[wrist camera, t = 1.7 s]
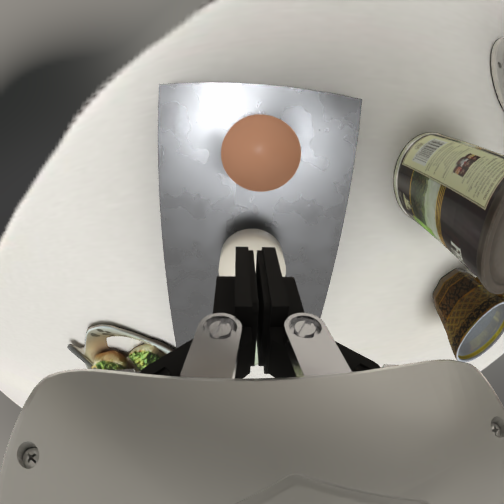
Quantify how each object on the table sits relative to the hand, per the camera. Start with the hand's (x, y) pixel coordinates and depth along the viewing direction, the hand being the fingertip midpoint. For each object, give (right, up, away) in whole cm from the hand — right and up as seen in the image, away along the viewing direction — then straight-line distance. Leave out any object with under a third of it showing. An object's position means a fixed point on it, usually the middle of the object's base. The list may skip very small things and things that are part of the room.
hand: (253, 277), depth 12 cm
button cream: (0, +2, +14) cm, 14 cm away
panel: (0, +3, +16) cm, 16 cm away
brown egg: (0, +10, +10) cm, 14 cm away
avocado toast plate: (-18, -16, +26) cm, 36 cm away
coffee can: (+19, +9, +13) cm, 25 cm away
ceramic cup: (+28, -3, +20) cm, 35 cm away
